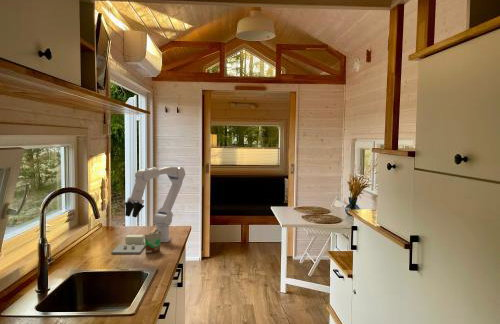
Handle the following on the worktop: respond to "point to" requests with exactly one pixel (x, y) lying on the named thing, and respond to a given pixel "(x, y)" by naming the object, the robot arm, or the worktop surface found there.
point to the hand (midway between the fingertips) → (130, 216)
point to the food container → (153, 242)
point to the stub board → (128, 249)
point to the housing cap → (134, 239)
